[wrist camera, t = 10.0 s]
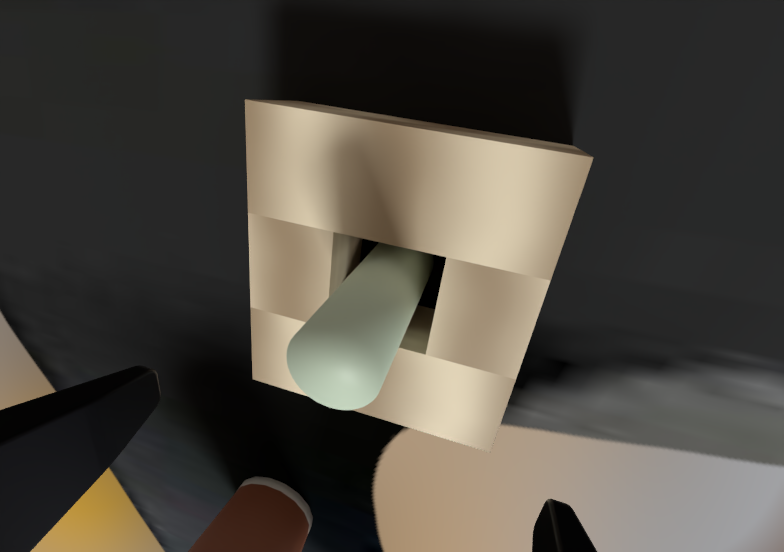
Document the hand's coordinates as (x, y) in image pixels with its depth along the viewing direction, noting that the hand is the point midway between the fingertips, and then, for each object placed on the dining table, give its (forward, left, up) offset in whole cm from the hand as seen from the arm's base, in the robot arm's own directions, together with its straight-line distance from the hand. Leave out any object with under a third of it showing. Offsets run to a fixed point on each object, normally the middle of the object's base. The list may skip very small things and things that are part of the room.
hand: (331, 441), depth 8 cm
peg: (+1, +1, -12) cm, 12 cm away
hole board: (+1, +1, -12) cm, 12 cm away
